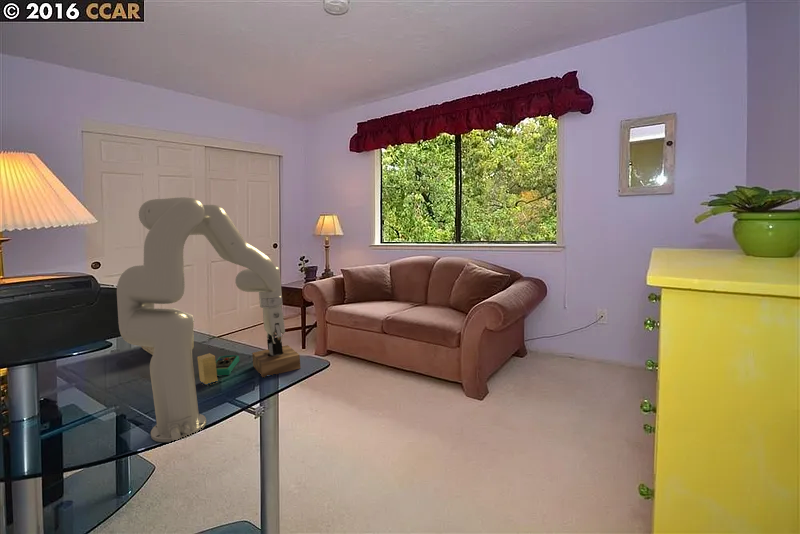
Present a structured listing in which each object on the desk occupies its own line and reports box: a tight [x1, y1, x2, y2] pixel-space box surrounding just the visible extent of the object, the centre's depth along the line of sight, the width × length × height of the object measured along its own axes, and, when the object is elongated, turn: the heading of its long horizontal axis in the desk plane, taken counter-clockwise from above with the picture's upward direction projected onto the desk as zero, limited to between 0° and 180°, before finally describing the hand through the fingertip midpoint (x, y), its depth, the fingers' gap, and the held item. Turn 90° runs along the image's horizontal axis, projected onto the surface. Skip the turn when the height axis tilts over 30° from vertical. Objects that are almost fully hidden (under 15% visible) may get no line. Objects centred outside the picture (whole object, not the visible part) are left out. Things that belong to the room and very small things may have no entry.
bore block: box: [251, 344, 301, 378], centre depth 145 cm, size 13×13×5 cm
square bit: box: [196, 352, 218, 384], centre depth 134 cm, size 4×4×9 cm
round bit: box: [269, 342, 281, 357], centre depth 145 cm, size 4×4×9 cm
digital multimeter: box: [215, 354, 240, 376], centre depth 146 cm, size 7×15×3 cm, turn 7°
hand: (275, 351), depth 145 cm, fingers open, 5 cm apart
